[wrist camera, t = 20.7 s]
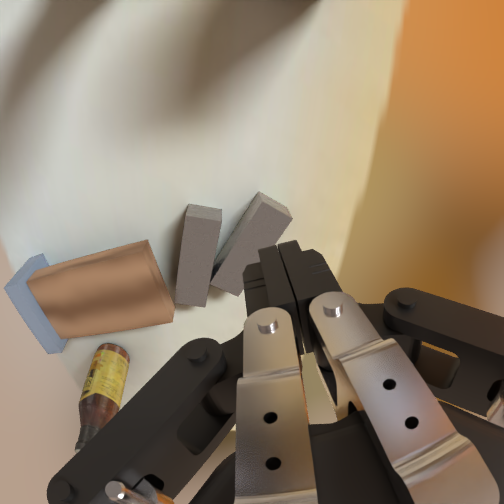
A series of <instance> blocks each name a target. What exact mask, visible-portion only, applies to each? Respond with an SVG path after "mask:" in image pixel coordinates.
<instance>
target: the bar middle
mask: <svg viewBox="0 0 504 504" xmlns="http://www.w3.org/2000/svg"><path fill="white" fill-rule="evenodd" d="M221 223H222V209H217V208H211V207H205V206H199V205H193V204H189V205H188V209H187V212H186V216H185V223H184V229H183V236H182V243H181V251H180V259H179V266H178V275H177V283H176V292H175V301H174V303H178V304H185V305H191V306H198V307H205V306H206V300H207V295H208V289H209V284H210V279H211V273H212V268H213V263H214V258H215V253H216V248H217V243H218V238H219V233H220V228H221Z"/></svg>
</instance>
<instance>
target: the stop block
mask: <svg viewBox="0 0 504 504" xmlns="http://www.w3.org/2000/svg"><path fill="white" fill-rule="evenodd" d="M48 266H49V265H48V263H47V261H46V259H45V257H44V255H43V253H42V254H40V255H37V256H34V257H31V258H29V259H28V260H27V262H26V263H25V264H24V265H23V266H22V267H21V268H20V269H19V271H18V272H17V273H16V274H15V275H14V276H13V278H12V279H11V280H10V281H9V282H8V283H7V285H6V286H5V287H4V289H5V291H6V293H7V294H8V296H9V298H10V299H11V301H12V303H13V304H14V306H15V307H16V309H17V311H18V312H19V314H20V315H21V317H22V318H23V320H24V321H25V323H26V324H27V326H28V327H29V329H30V330H31V331H32V333H33V334H34V336H35V337H36V339H37V340H38V341H39V343H40V344H41V345H42V347H43V348H44V349H45V351H46V352H47V353H48V354H53V353H62V351H63V349H64V347H65V345H66V342H67V340H68V338H67V339H60V337H59V336H58V334H57V333H56V331H55V330H54V328H53V327H52V325H51V323H50V322H49V320H48V319H47V317H46V316H45V314H44V312H43V311H42V309H41V307H40V306H39V304H38V302H37V301H36V299H35V297H34V296H33V294H32V292H31V290H30V289H29V287H28V285H27V283H26V281H27V280H28V279H29V278H30V277H31V275H32V274H33V273H34V272H35V270H38V269H42V268H45V267H48Z"/></svg>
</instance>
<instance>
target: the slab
mask: <svg viewBox="0 0 504 504" xmlns="http://www.w3.org/2000/svg"><path fill="white" fill-rule="evenodd" d="M26 283H27V285H28V287H29V289H30V290H31V292H32V294H33V296H34V297H35V299H36V301H37V302H38V304H39V306H40V307H41V309H42V311H43V312H44V314H45V316H46V317H47V319H48V320H49V322H50V323H51V325H52V327H53V328H54V330H55V331H56V333H57V334H58V336H59V337H60V339H67V338H75V337H83V336H90V335H97V334H104V333H111V332H117V331H124V330H130V329H136V328H142V327H148V326H154V325H160V324H166V323H171V322H173V316H174V311H175V306H174V303H173V301H172V299H171V296H170V294H169V292H168V289H167V287H166V285H165V282H164V280H163V277H162V275H161V272H160V270H159V268H158V265H157V262H156V260H155V257H154V255H153V252H152V250H151V247H150V244H149V242H148V240H144V241H140V242H136V243H132V244H128V245H124V246H121V247H117V248H113V249H109V250H106V251H102V252H98V253H95V254H91V255H87V256H84V257H80V258H76V259H73V260H69V261H66V262H62V263H59V264H55V265H52V266H48V267H45V268H42V269H38V270H35V272H34V273H33V274H32V275H31V277H30V278H29V279H28V280H27V281H26Z"/></svg>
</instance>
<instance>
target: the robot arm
mask: <svg viewBox="0 0 504 504" xmlns="http://www.w3.org/2000/svg"><path fill="white" fill-rule="evenodd" d="M278 251H279V252H278ZM258 253H259V258H260V262H257V263H253V264H249V265H247V266H246V268H245V270H244V272H243V273H242V275H243V283H244V292H245V301H246V309H247V317H248V318H247V319H246V321H245V323H244V330H243V331H242V332H241V333H240V334H239V335H237V336H236V337H235V338H233V339H231V340H229V341H227V342H225V343H222V344H219V343H218V342H217V341H216V340H213V339H210V338H198V339H195V340H192V341H190V342H188V343H186V344H185V345H184V346H182V347H181V348H180V349H179V350H178V351H177V352H176V353H175V355H174V356H173V357H172V358H171V359H170V360H169V361H168V362H167V363H166V364H165V365H164V366H163V367H162V368H161V369H160V370H159V371H158V372H157V373H156V374H155V375H154V376H153V377H152V378H151V379H150V380H149V381H148V382H147V383H146V384H145V385H144V386H143V387H142V388H141V389H140V390H139V391H138V392H137V393H136V394H135V396H134V397H133V398H132V399H131V400H130V401H129V402H128V403H127V404H126V405H125V406H124V407H123V408H122V409H121V410H120V411H119V412H118V413H117V414H116V415H115V416H114V417H113V418H112V419H111V420H110V421H109V422H108V423H107V424H106V425H105V426H104V427H103V428H102V429H101V430H100V431H99V432H98V433H97V434H96V435H95V436H94V437H93V438H92V439H91V440H90V441H89V442H88V443H87V444H86V445H85V446H84V447H83V448H82V449H81V450H80V451H79V452H78V453H77V454H76V455H75V456H74V457H73V458H72V459H71V460H70V461H69V462H68V463H67V464H66V465H65V466H64V467H63V468H62V469H61V470H60V471H59V472H58V473H57V474H56V475H54V477H53V478H52V479H51V480H50V482H49V485H48V488H47V499H48V503H49V504H174V502H173V499H174V498H175V497H176V496H177V495H178V493H179V492H180V491H181V490H182V489H183V488H184V487H185V485H186V484H187V483H188V482H189V481H190V480H191V478H192V477H193V476H194V475H195V474H196V472H197V471H198V470H199V469H200V468H201V467H202V465H203V464H204V463H205V462H206V460H207V459H208V458H209V457H210V456H211V454H212V453H213V452H214V451H215V449H216V448H217V447H218V446H219V444H220V443H221V442H222V440H223V439H224V438H225V437H226V435H227V434H228V433H229V432H230V430H231V429H232V428H233V426H234V425H235V424H236V451H235V452H234V453H232V454H231V455H229V456H228V457H227V458H226V459H225V460H223V461H222V462H221V464H220V465H219V466H218V467H217V468H216V469H215V470H214V472H213V473H212V474H211V475H210V477H209V478H208V479H207V481H206V482H205V483H204V485H203V486H202V487H201V489H200V490H199V491H198V493H197V494H196V495H195V496H194V498H193V499H192V500H191V501H190V503H189V504H504V317H501V316H498V315H494V314H492V313H489V312H485V311H482V310H479V309H476V308H473V307H470V306H467V305H464V304H461V303H457V302H455V301H451V300H448V299H445V298H442V297H439V296H435V295H433V294H429V293H426V292H423V291H420V290H417V289H413V288H399V289H396V290H393V291H391V292H390V293H389V294H388V295H387V296H386V298H385V300H384V303H382V304H361V303H357V302H356V301H355V300H354V298H353V297H351V296H350V295H348V294H346V293H343V291H342V289H341V288H340V286H339V284H338V282H337V280H336V279H335V277H334V275H333V273H332V272H331V270H330V268H329V266H328V264H326V261H325V259H324V257H323V256H322V254H320V253H319V252H317V251H315V250H313V249H310V250H306V251H301V249H300V247H299V244H298V242H297V240H293V241H289V242H285V243H281V244H278V249H277V246H276V245H273V246H269V247H264V248H260V249H258ZM302 341H303V342H302ZM422 341H423V342H426V343H429V344H431V345H434V346H437V347H439V348H442V349H445V350H447V351H450V352H453V353H455V354H456V355H457V356H458V357H459V358H455V357H452V356H450V355H447V354H444V353H442V352H439V351H436V350H434V349H431V348H429V347H426V346H423V345H422ZM303 344H304V347H305V351H306V353H310V352H314V355H315V358H316V363H317V370H318V373H319V375H320V378H321V380H322V383H323V385H324V387H325V389H326V392H327V394H328V397H329V399H330V401H331V403H332V406H333V409H334V411H335V414H336V417H337V422H335V423H331V424H311V425H310V423H309V417H308V410H307V404H306V398H305V391H304V385H303V378H302V373H301V372H302V361H301V356H300V355H303V354H304V348H303ZM435 397H437V398H439V399H441V400H444V401H446V402H449V403H451V404H454V405H456V406H459V407H461V408H464V409H466V410H469V411H472V412H474V413H477V414H479V415H482V416H484V417H487V420H484V419H482V418H479V417H477V416H475V415H472V414H470V413H468V412H465V411H463V410H461V409H459V408H457V407H454V406H452V405H450V404H447V403H445V402H441V401H438V400H436V398H435Z"/></svg>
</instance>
